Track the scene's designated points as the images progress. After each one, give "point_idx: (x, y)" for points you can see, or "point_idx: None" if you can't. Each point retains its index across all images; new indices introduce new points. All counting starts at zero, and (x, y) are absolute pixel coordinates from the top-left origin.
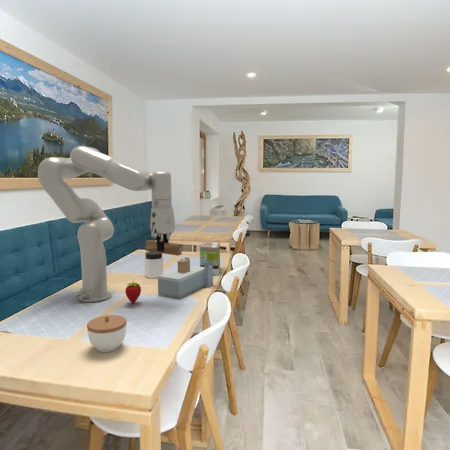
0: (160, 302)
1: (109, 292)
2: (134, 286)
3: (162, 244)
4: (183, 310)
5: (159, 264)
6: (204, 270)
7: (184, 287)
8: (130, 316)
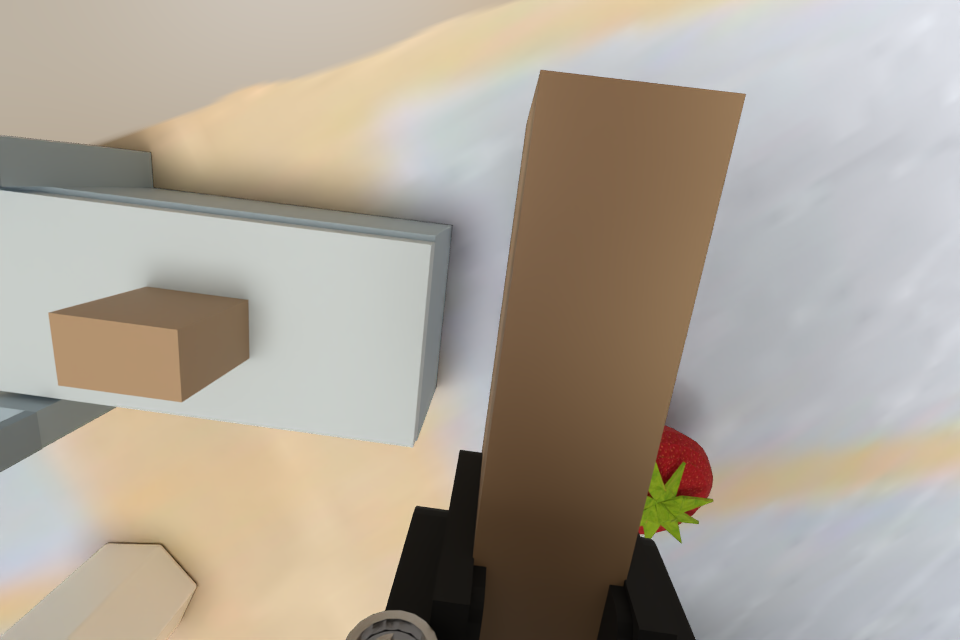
0: None
1: None
2: (676, 480)
3: (645, 587)
4: None
5: (75, 616)
6: (35, 185)
7: (379, 222)
8: (809, 341)
